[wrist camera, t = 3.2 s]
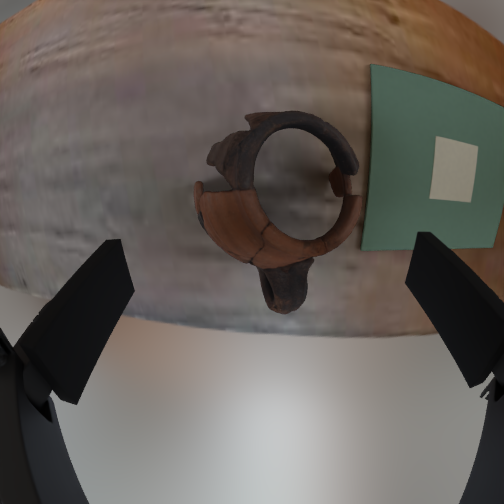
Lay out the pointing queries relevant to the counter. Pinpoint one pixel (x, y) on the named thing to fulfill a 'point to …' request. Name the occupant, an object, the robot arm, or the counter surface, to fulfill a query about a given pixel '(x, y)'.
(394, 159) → the centre mat
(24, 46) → the counter surface
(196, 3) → the counter surface
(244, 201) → the broken pottery ring
